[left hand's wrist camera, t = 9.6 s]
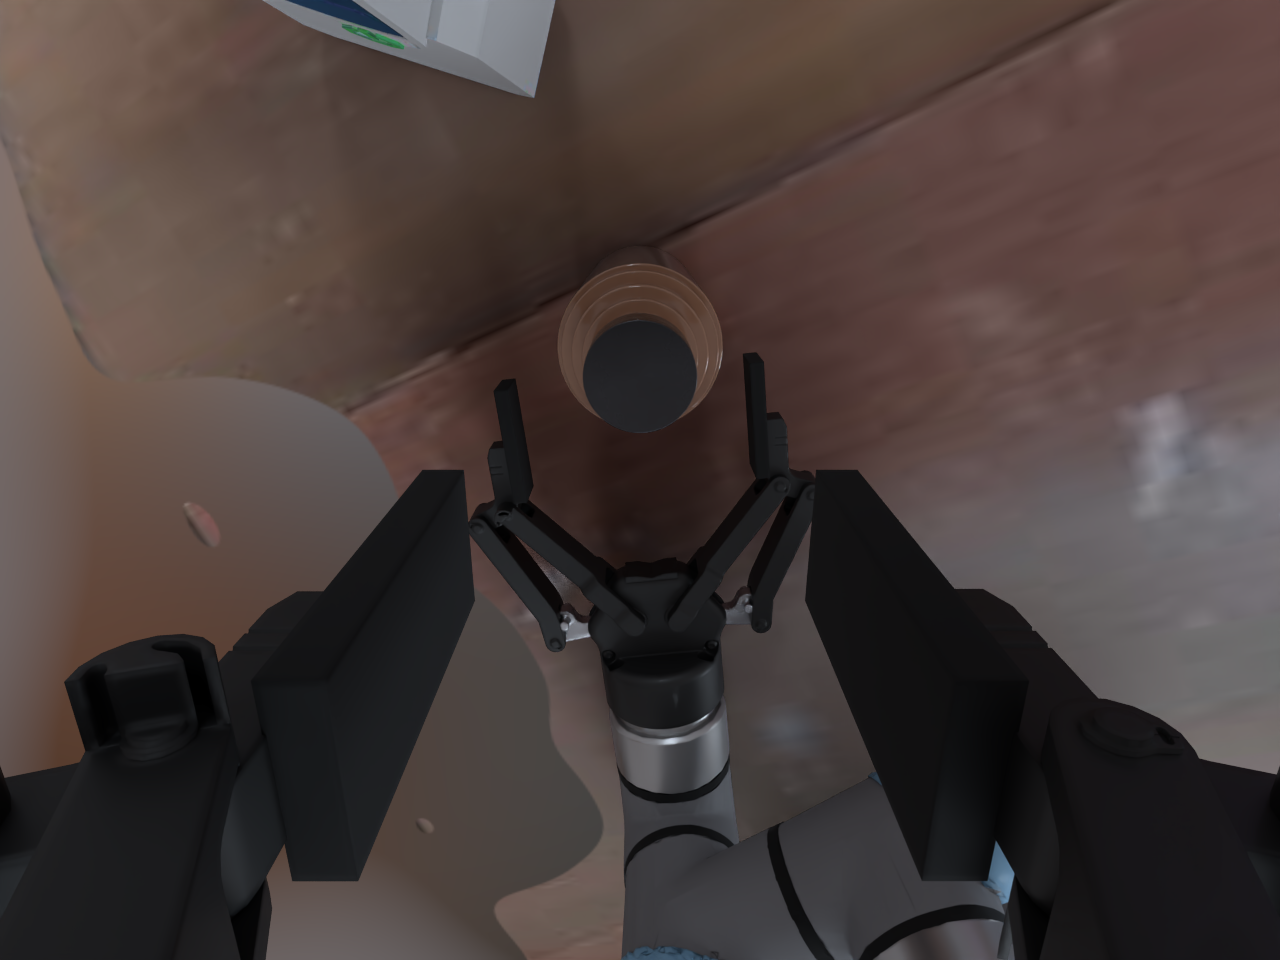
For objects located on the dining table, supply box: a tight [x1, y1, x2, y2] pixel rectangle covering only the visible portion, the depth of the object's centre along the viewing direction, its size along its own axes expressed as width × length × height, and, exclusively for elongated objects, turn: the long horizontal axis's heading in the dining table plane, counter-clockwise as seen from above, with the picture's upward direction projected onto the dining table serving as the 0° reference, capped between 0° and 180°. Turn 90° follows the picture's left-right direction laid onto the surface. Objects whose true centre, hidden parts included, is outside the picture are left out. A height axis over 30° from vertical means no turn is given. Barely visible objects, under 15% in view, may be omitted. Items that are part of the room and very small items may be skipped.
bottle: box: [557, 246, 723, 420], centre depth 37 cm, size 7×7×20 cm
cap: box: [583, 313, 697, 433], centre depth 28 cm, size 4×4×2 cm
